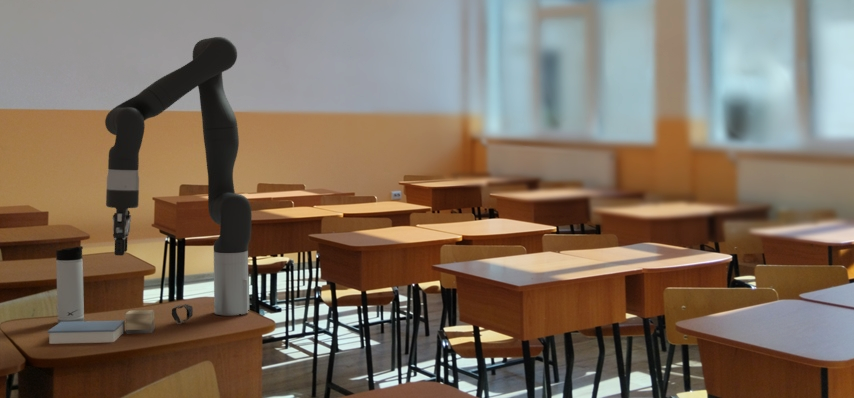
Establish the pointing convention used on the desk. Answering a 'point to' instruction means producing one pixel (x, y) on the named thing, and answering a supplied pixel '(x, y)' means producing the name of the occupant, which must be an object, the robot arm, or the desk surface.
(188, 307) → the wristwatch
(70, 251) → the travel mug
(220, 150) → the robot arm
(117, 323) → the textbook
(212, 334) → the desk surface
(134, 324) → the tan wooden block
